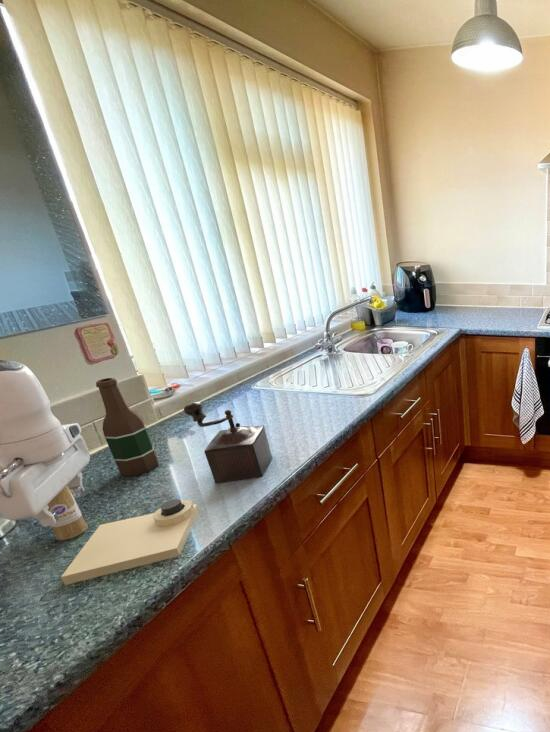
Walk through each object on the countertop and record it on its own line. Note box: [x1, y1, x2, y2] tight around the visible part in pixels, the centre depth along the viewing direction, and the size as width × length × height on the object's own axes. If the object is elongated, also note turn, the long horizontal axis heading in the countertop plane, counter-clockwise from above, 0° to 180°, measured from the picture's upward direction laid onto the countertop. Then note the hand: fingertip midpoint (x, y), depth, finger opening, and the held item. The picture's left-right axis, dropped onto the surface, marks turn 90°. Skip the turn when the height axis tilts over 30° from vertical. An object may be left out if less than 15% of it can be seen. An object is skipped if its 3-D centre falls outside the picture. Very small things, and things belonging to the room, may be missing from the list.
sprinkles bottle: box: [47, 484, 89, 541], centre depth 78 cm, size 5×5×13 cm
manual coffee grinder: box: [183, 400, 273, 485], centre depth 97 cm, size 16×11×18 cm
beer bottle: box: [95, 377, 159, 477], centre depth 97 cm, size 8×8×24 cm
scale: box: [60, 499, 200, 586], centre depth 77 cm, size 16×14×4 cm
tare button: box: [160, 498, 183, 516], centre depth 81 cm, size 3×3×2 cm
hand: (65, 508), depth 78 cm, fingers open, 8 cm apart
